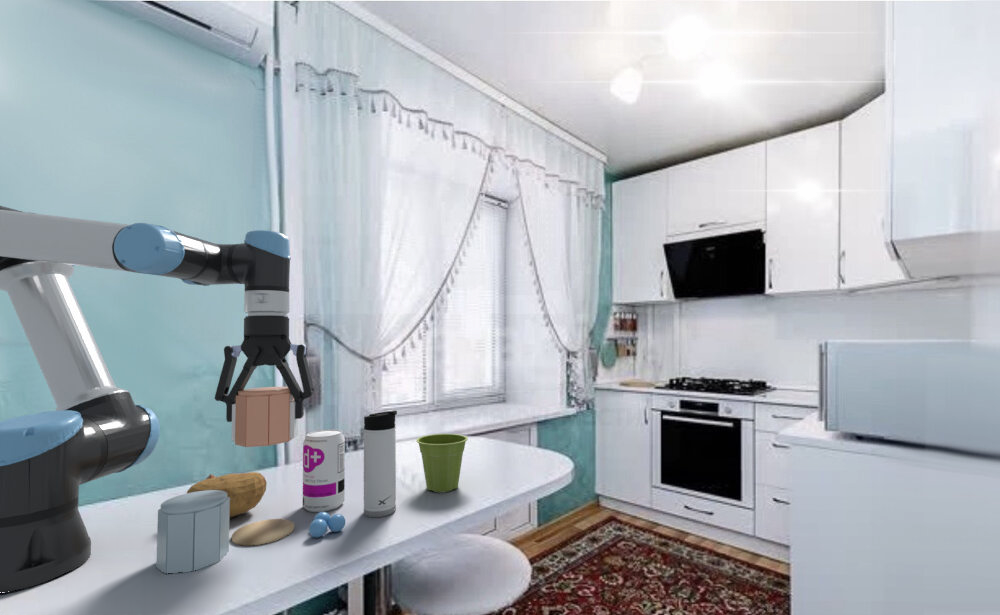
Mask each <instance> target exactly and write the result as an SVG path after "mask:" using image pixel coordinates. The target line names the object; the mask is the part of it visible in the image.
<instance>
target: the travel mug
mask: <svg viewBox="0 0 1000 615" xmlns="http://www.w3.org/2000/svg"><path fill="white" fill-rule="evenodd" d="M397 414H398V412H397V410H391V411H381V412H376V413H371V414H369V415H364V417H363V424H364V425H363V514H364V515H365V516H366V517H369V518H382V517H387V516H390V515H392V514H394V513H395V512H396V510H397V507H396V506H397V503H396V502H397V501H396V500H397V498H396V497H397V494H396V493H397V483H396V482H397V481H396V478H397V477H396V476H397V475H396V474H397V473H396V472H397V471H396V470H397V468H396V466H397V463H396V462H397V461H396V460H397V458H396V453H397V451H396V449H397V448H396V447H397V446H396V445H397V443H396V440H397V439H396V438H397V436H396V434H397V433H396V428H397V427H396V415H397Z"/></svg>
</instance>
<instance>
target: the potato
mask: <svg viewBox="0 0 1000 615" xmlns="http://www.w3.org/2000/svg"><path fill="white" fill-rule="evenodd" d="M215 477H216V476H215ZM205 479H206V478H205ZM205 479H202V480H200V481H198V482H195V484H193V485H191V486H190V487H189V488H188V489H187V491H186V494H187V493H192V492H197V491H206V490H221V491H225V492H227V494H228V495H227V497H229V498H230V511H229V519H230V517H231V518H234V517H237V516H240V515H242V514H245V513H247V512H249V511H250V510H252V509H254V508H256V506H257V505H258V504H259V503H260V502H261V500H262V498H263V497H264V494H265V492H266V490H267V480H266V478H265V476H264V475H263V474H262V473H261V472H259V471H257V472H256V471H255V472H254V471H250V472H243V473H241V472H240V473H229V474H223V475H219V476H217V477H216V478H210V479H206V480H205Z"/></svg>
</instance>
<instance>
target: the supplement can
mask: <svg viewBox="0 0 1000 615" xmlns="http://www.w3.org/2000/svg"><path fill="white" fill-rule="evenodd" d="M342 432H343V431H342V430H340V429H324V430H316V431H315V430H314V431H311V432H308V433H306V437H304V438H305V439H304V440H303V443H302V507H303V508H304V509H305V510H306V511H307V512H309V513H310V512H312V513H320V512H328V511H329V512H330V511H333V510H335V509H338V508H339V507H341V506H342V504H343V503H344V502H345V500H346V499H345V496H346V494H345V493H346V492H345V490H346V489H345V487H346V485H345V482H346V481H345V478H346V477H345V476H346V474H345V473H346V472H345V468H346V467H345V462H346V461H345V460H346V459H345V456H346V455H345V452H346V444H345V440H346V439H345V436H344V434H343V433H342Z"/></svg>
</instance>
